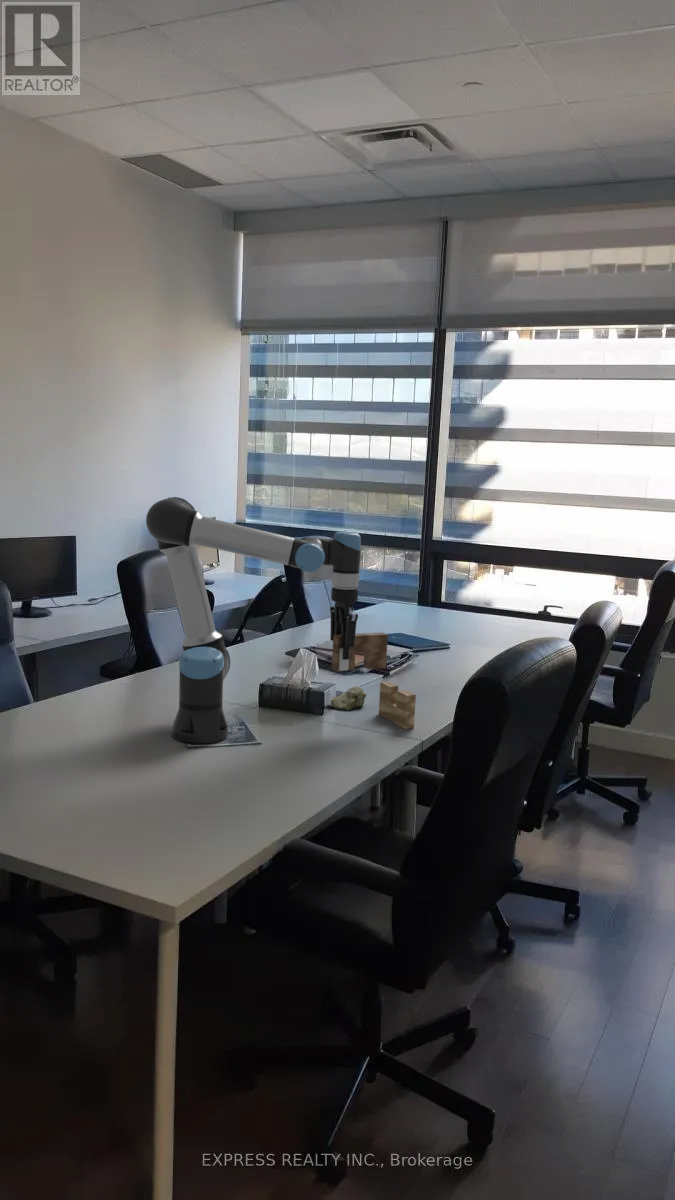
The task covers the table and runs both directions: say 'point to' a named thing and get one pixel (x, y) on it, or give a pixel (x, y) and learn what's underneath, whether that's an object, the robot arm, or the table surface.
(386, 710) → the oak board
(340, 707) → the rock
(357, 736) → the table surface
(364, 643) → the walnut plate
